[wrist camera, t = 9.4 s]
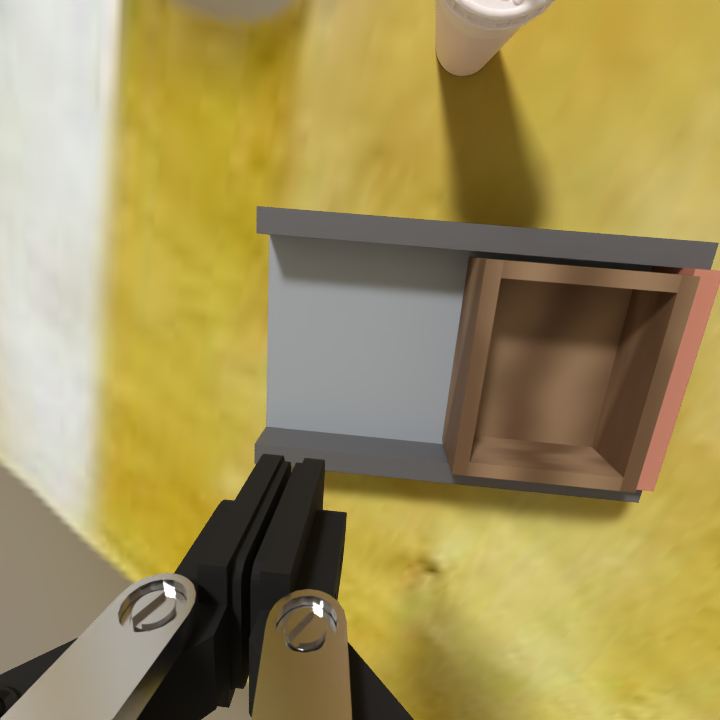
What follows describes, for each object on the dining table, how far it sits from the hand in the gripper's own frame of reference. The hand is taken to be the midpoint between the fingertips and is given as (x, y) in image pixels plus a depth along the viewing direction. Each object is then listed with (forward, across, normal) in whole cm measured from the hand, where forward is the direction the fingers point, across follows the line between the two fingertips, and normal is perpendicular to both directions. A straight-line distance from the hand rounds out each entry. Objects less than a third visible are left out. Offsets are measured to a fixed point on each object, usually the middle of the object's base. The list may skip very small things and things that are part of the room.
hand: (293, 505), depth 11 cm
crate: (+20, -14, 0) cm, 24 cm away
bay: (+21, -8, 0) cm, 22 cm away
